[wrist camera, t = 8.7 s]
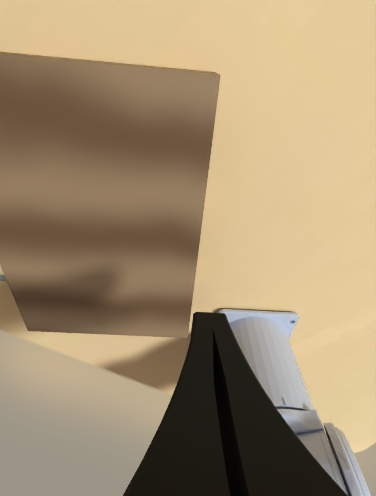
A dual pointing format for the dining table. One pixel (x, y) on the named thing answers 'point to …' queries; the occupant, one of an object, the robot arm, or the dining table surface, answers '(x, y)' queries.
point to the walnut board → (103, 192)
